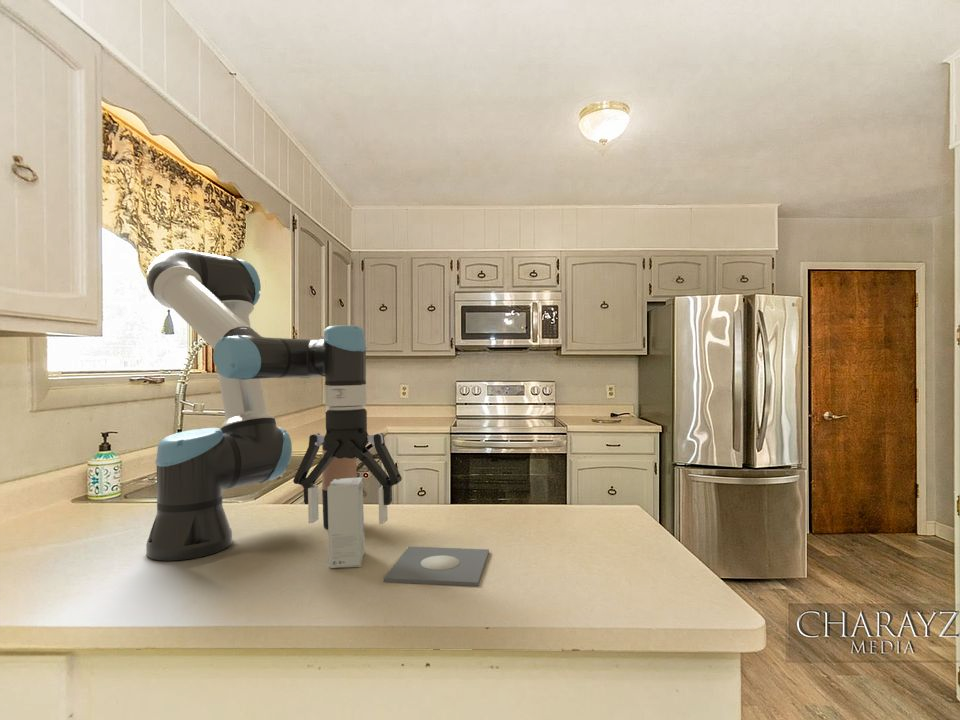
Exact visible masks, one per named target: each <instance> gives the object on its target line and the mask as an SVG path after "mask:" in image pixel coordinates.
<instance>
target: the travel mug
mask: <svg viewBox="0 0 960 720" xmlns="http://www.w3.org/2000/svg"><path fill="white" fill-rule="evenodd" d="M321 446H322V449H321V451H322V452H321V453H322V455H321V456H322V457H321V459H322V458H323V455H324V454H325V453H326V452H327V450H328V449H329V448H328V447H327V445H326V444H325V442H323V444H322V445H321ZM357 475H358V474H357V457H355V458H353V459H349V458H341V459H337V457H335V458H334V459H333V460H332V461H331V462H330V464H329V465H328V466H327V467H326V469H325V470H324V471H323V472H322V474H321V493H322V494H321V496H322V517H323V518H322V521H323V523H322V524H323V528H324V529H325V530H328V496H327V487H328V486H329V485H330V482H332V481H333V480H334V479H343V478H358V477H357Z"/></svg>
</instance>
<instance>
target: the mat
mask: <svg viewBox="0 0 960 720" xmlns="http://www.w3.org/2000/svg"><path fill="white" fill-rule="evenodd" d="M489 554H490V549H487V548H486V549H483V548H457V547H432V546H408V547H406V549H405V551H404V552H403V553H402V554H401V555H400V557H399V558H398V560H397V561H395V562H394V564H393V566H392V567H391V569H389V570H388V572H387V573H386V574H385V576H383V583H402V584H403V583H404V584H425V585H443V586H444V585H445V586H448V585H449V586H462V587H463V586H467V587H469V586H470V587H479V583H480V580H481V579H482V575H483V572H484V569H485V566H486V563H487V560H488V558H489Z"/></svg>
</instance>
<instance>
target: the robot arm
mask: <svg viewBox="0 0 960 720" xmlns="http://www.w3.org/2000/svg"><path fill="white" fill-rule="evenodd" d="M259 276H260V275H259V274H258V272H257V270H256V268H255V267H254V266H253V264H251V263H250V262H248V261H246V260H244V259H239V258H237V257H234V256H228V255H227V256H224V255H219V254H211V253H206V252H200V251H193V250H190V249H188V250H187V249H174V250H173V249H172V250H169V251H166V252H164V253H162V254H159V256H157V257H156V258H154V260H153V261H152V262H151V264H150V265H149V266H148V269H147V272H146V284H147V288H148V290H149V292H150V293H151V295H152V296H153V297H154V298H155V300H157V302H158V303H160V304H161V305H163V306H164V307H166V308H169V309H173V310H174V311H175V312H176V314H178V315H179V316H180V317H181V318H182V319H183V320H184V321H185V322H186V323H187V324H188V325H189V326H190V327H191V328H192V329H193V330H194V332H196V333H197V334H198V335H199V336H200V337H201V338H202V339H203V340H204V341H205V342H206V343H207V344H208V345H209V346H210V347H211V348H212V349H213V354H212V355H213V358H212V359H213V364H214V366H215V367H216V368H215V369H216V371H217V377H218V381H219V388H220V394H221V399H222V405H223V412H224V418H225V420H224V421H223V423H222V424H221V426H220V427H219V428H218V427H203V428H199V429H197V428H195V429H189V430H184V431H179V432H176V433H173V434H170V435H167V436H165V437H164V438H162V439H161V440H160V441H159V443H158V444H157V449H156V450H157V452H156V459H155V465H156V514H155V515H156V516H155V517H154V521H153V523H152V526H151V529H150V532H149V537H148V539H147V541H146V551H145V553H146V556H147V558H148V559H151V560H157V561H163V562H164V561H166V562H167V561H185V560H191V559H197V558H201V557H205V556H209V555H213V554H215V553H216V554H217V553H218V552H221V551H223V550H225V549H227V548H229V547H230V546H231V545H232V543H233V532H232V528H231V527H230V523H229V520H228V517H227V514H226V512H225V509H224V505H223V492H224V491H223V490H227V489H231V488H238V487H243V486H247V485H252V484H262V483H265V482H268V481H271V480H276V479H278V478H279V477H281V476H282V475H283V474H284V473H285V472H286V471H287V468H288V467H289V464H290V463H291V458H292V453H293V446H292V445H293V444H292V440H291V436H290V434H289V432H287V430H286V429H285V428H283V427H280V426H277V422H276V418H275V416H273V415H272V414H270V413H268V411H267V408H266V407H267V406H266V401H265V397H264V391H263V386H262V379H293V378H295V379H296V378H298V379H310V378H325V379H324V380H325V382H324V386H325V387H324V388H325V389H324V390H325V391H324V392H325V394H324V395H325V397H324V398H325V403H324V404H325V407H326V408H328V409H326V411H325V431H326V433H325V435H322V434H321V433H319V432H318V433H317V432H316V433H313V434H311V435H310V436H309V439H308V447H307V449H306V451H305V453H304V456H303V458H302V460H301V463H300V464H299V467H298V469H297V471H296V473H295V476H294V478H293V483H294V485H300V486H301V487H302V489H303V503H304V505H307V506H308V507H307V508H308V510H307V511H308V519H307V520H308V524H314V523H315V522H317V521H318V520H319V519H320V518H319V513H320V512H319V485H318V484H316V481H318V479H319V477H321V476H322V472H323V471H324V470H325V469H326V467H327V466H328V465H329V464H330V462H331V461H332V460H333V459H334V458H335V457H337V459H341V458H349V459H353V458H355V457H356V459H358V460H359V461H360V462H362V463H363V465H364V466H365V467H366V468H367V469H368V471H369V472H370V473H371V474H372V475H373V477H374V478H375V479H376V480H377V482H379V484H380V485H381V486H380V487H378V490H377V491H378V525H385V524H386V523H387V521H388V506H390V505H391V504H392V503H393V486H395V485H398V484H399V483H400V482H402V480H403V478H402V476H401V474H400V472H399V470H398V468H397V465H396V463H395V462H394V459H393V458H392V456H391V453H390V451H389V450H388V448H387V446H386V440H385V435H384V433H383V432H378V433H376V434H369V433H368V420H367V419H368V417H367V415H368V410H366V408H364V407H366V405H367V404H368V403H367V400H368V399H367V363H366V362H367V353H366V352H367V345H366V335H365V330H364V328H362V327H361V326H358V325H349V324H348V325H340V324H339V325H329V326H327V327H326V328H324V332H323V338H315V339H314V338H313V339H309V338H308V339H306V338H287V337H286V338H284V337H283V338H281V337H265V336H261V334H259V333H258V332H257V331H256V330H255V329H253V328H252V327H251V321H250V314H252V313H253V311H254V309H255V307H254V306H256V304H257V303H258V302H259V299H260V296H261V294H260V292H261V290H262V289H261V287H262V286H261V285H262V284H261V280H260V277H259ZM323 442H325V444H326V445H327V447H328V448H329V449H328V450H327V452H326V453H325V454H324V455H323V458H322V457H321V459H320V460H319V461H318V463H317V464H316V465H315V466H314V468H313V469H312V470H311V471H310V469H311V467H312V465H313V463H314V461H315V459H316V457H317V454H318V452H319V450H320V447H321V446H322V444H323ZM369 442H370V443H371V446H373V447H374V449H375V452H376V453H377V455H378V457H379V459H380V461H381V464H382V465H383V467H382V466H381V465H380V464H379V463H378V462H377V461H376V459H375V458H374V457H373V456H372V454H371V451H369V450H368V448H367V447H366V446H367V445H368V443H369ZM383 468H384V469H385V470H384V469H383ZM309 471H310V473H309Z"/></svg>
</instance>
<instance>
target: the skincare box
mask: <svg viewBox="0 0 960 720" xmlns="http://www.w3.org/2000/svg"><path fill="white" fill-rule="evenodd" d="M363 482H364V481H363V477H362V476H360V477H357V478H343V479H334V480H333V481H332V482H330V485H329V486H328V487H327V496H328V529H327V530H328V531H327V532H328V533H327V534H328V536H327V537H328V567H329V568H330V569H337V568H338V569H339V568H361V567H362V561H363V558H364V555H365V552H366V551H365V550H366V549H365V548H366V547H365V546H366V543H365V518H364V491H363V489H364V488H363V487H364V485H363Z"/></svg>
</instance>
